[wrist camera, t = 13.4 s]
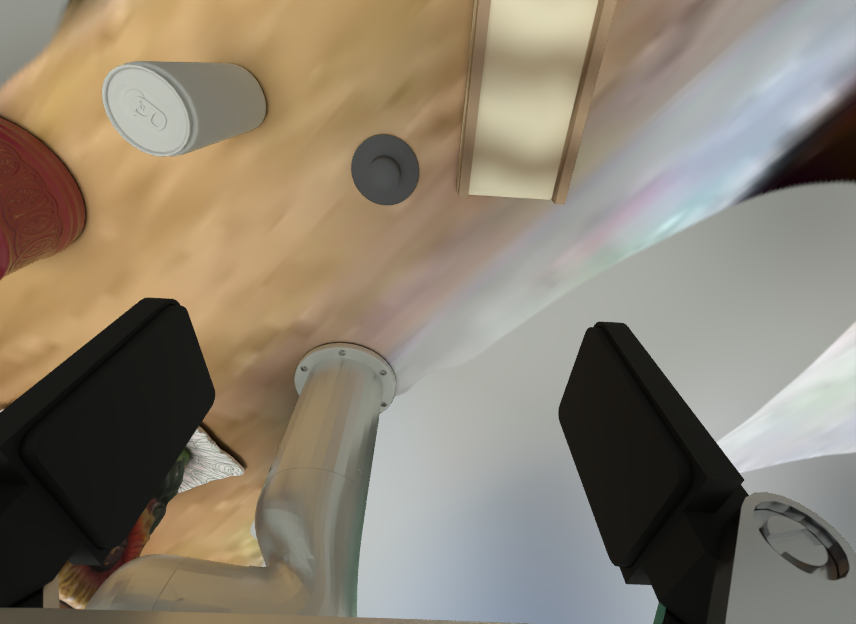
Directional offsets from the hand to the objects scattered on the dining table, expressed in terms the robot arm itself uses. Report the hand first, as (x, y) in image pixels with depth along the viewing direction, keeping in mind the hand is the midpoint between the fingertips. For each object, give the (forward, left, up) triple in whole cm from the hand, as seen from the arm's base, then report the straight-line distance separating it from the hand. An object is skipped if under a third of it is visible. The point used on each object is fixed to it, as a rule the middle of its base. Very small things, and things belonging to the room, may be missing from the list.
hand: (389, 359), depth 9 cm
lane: (+6, -8, -28) cm, 30 cm away
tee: (-2, +3, -28) cm, 29 cm away
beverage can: (+3, +15, -28) cm, 32 cm away
